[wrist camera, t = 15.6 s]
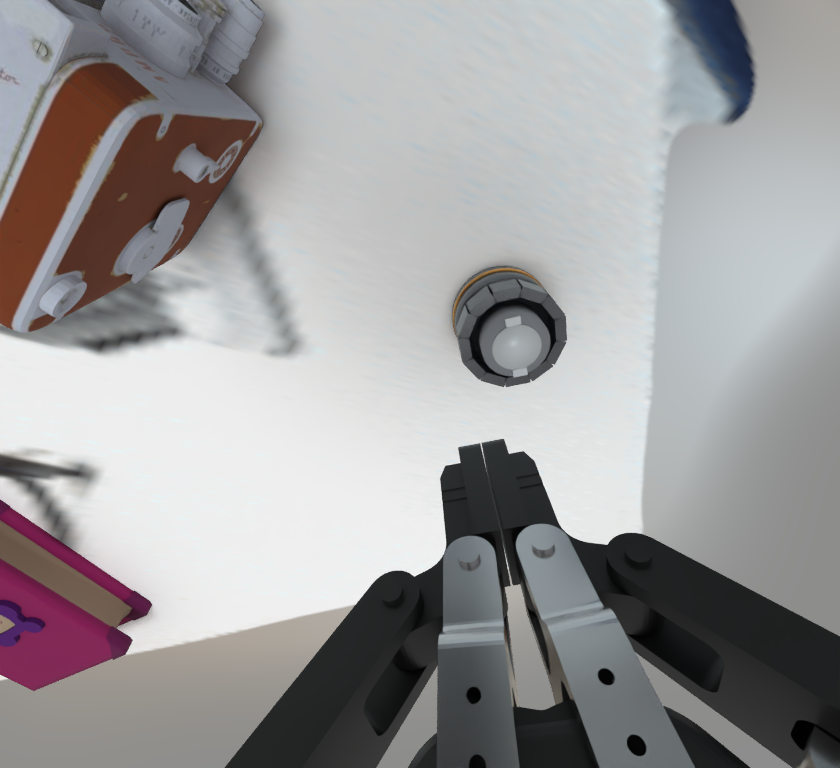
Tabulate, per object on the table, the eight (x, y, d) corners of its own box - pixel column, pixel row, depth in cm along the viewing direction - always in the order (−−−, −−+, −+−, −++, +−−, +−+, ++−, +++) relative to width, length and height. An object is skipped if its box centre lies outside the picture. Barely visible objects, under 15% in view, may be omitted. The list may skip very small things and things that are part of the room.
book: (60, 645, 69) (23, 699, 62) (-126, 542, 56) (-196, 596, 50) (158, 602, 64) (129, 656, 58) (-21, 479, 52) (-84, 530, 45)
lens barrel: (443, 277, 40) (449, 300, 35) (542, 254, 40) (564, 275, 34) (460, 362, 45) (467, 395, 39) (549, 344, 44) (569, 375, 39)
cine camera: (324, 72, 32) (230, 2, 15) (195, 265, 39) (30, 368, 22) (212, -43, 29) (-70, -298, 12) (93, 190, 36) (-196, 243, 19)
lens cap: (471, 308, 37) (477, 324, 34) (536, 293, 37) (548, 308, 34) (482, 364, 40) (488, 384, 37) (542, 351, 40) (554, 370, 36)
